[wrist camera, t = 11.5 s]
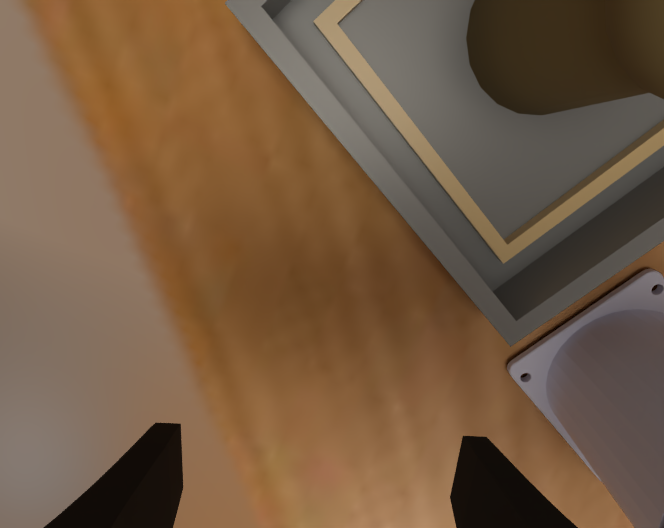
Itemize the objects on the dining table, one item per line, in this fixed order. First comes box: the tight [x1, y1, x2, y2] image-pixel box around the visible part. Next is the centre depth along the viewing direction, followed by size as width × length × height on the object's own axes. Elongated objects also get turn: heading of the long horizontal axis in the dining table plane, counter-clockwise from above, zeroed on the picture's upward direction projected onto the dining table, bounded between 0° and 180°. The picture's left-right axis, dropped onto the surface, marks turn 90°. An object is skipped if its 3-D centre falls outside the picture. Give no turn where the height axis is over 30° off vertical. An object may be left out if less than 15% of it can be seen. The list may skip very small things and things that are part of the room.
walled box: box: [225, 0, 664, 347], centre depth 17 cm, size 16×16×4 cm
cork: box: [466, 0, 664, 115], centre depth 12 cm, size 6×6×11 cm
